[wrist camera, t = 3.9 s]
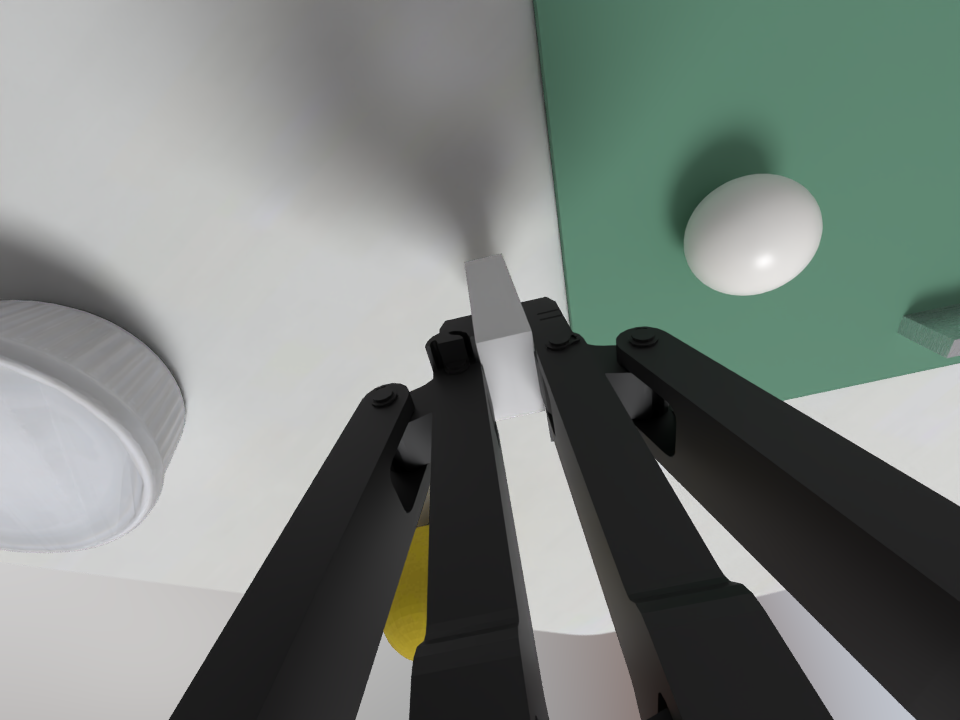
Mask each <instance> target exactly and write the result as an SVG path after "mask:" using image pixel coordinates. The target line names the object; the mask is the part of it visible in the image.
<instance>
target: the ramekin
mask: <svg viewBox="0 0 960 720" xmlns="http://www.w3.org/2000/svg"><path fill="white" fill-rule="evenodd" d="M184 425H185V407H184V400H183V398H182V395H181V391H180V388H179V387H178V385H177V383H176V381H175V379H174V377H173V375H172V374H171V372H170V371H169V369H168V368H167V366H166V365H165V364H164V363H163V361H162V360H161V359H160V358H159V357H158V356H157V355H156V354H155V353H154V352H153V351H152V350H151V349H150V348H149V347H148V346H146V345H145V344H144V343H143V342H142V341H140V340H139V339H138V338H136V337H135V336H134V335H132V334H131V333H129V332H128V331H126V330H125V329H123V328H121V327H119V326H118V325H116V324H114V323H112V322H110V321H108V320H106V319H103V318H101V317H99V316H96V315H94V314H91V313H88V312H85V311H82V310H78V309H75V308H71V307H67V306H62V305H58V304H54V303H45V302H39V301H31V300H28V301H23V300H0V550H6V551H14V552H30V553H55V552H69V551H79V550H86V549H90V548H94V547H97V546H101V545H104V544H106V543H109V542H112V541H114V540H116V539H118V538H120V537H122V536H124V535H126V534H128V533H129V532H130V531H132V530H133V529H135V528H136V527H137V526H138V525H139V524H140V523H141V522H142V521H143V520H144V519H145V518H146V517H147V515H148V514H149V513H150V511H151V510H152V509H153V507H154V506H155V504H156V502H157V500H158V499H159V496H160V494H161V491H162V487H163V483H164V474H165V472H166V470H167V468H168V466H169V463H170V461H171V459H172V456H173V454H174V452H175V450H176V447H177V445H178V443H179V440H180V438H181V436H182V433H183V428H184Z"/></svg>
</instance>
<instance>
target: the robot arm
mask: <svg viewBox="0 0 960 720" xmlns="http://www.w3.org/2000/svg"><path fill="white" fill-rule="evenodd" d="M465 270H466V277H467V284H468V292H469V299H470V306H471V314H472V315H469V316H465V317H460V318H456V319H452V320H447V321H445V322H444V324H443V325H442V326H441V328H440V333H438V334H437V335H435V336H433V337H432V338H431V339H430V340H429V341H427V343H426V346H425V348H426V351H427V354H428V357H429V360H430V363H431V366H432V369H433V379H432V380H431V381H430V382H428V383H427V384H426V385H424V386H422V387H420V388H418V389H415V390H413V391H411V392H409V390H408V388H407V387H406V386H405V385H402V384H398V383H391V384H386V385H382V386H380V387H377V388H375V389H374V390H372V391H371V392H369V393H368V394H367V395H366V396H365V397H364V398H363V399H362V401H361V402H360V404H359V406H358V407H357V409H356V411H355V412H354V414H353V416H352V417H351V419H350V421H349V422H348V424H347V425H346V427H345V429H344V430H343V432H342V434H341V435H340V437H339V439H338V440H337V442H336V444H335V445H334V447H333V449H332V450H331V452H330V454H329V455H328V457H327V459H326V460H325V462H324V464H323V465H322V467H321V469H320V470H319V472H318V474H317V475H316V477H315V478H314V480H313V482H312V483H311V485H310V487H309V488H308V490H307V492H306V493H305V495H304V497H303V498H302V500H301V502H300V503H299V505H298V507H297V508H296V510H295V512H294V513H293V515H292V517H291V518H290V520H289V522H288V523H287V525H286V526H285V528H284V530H283V531H282V533H281V535H280V536H279V538H278V540H277V541H276V543H275V545H274V546H273V548H272V550H271V551H270V553H269V555H268V556H267V558H266V560H265V561H264V563H263V565H262V566H261V568H260V570H259V571H258V573H257V575H256V576H255V578H254V579H253V581H252V583H251V584H250V586H249V588H248V589H247V591H246V593H245V594H244V596H243V598H242V599H241V601H240V603H239V604H238V606H237V608H236V609H235V611H234V613H233V614H232V616H231V618H230V619H229V621H228V623H227V624H226V626H225V627H224V629H223V631H222V632H221V634H220V636H219V637H218V639H217V641H216V642H215V644H214V646H213V647H212V649H211V651H210V652H209V654H208V656H207V657H206V659H205V661H204V662H203V664H202V666H201V667H200V669H199V671H198V672H197V674H196V676H195V677H194V679H193V680H192V682H191V684H190V686H189V687H188V689H187V690H186V692H185V694H184V695H183V697H182V699H181V700H180V702H179V704H178V705H177V707H176V709H175V710H174V712H173V714H172V715H171V717H170V719H169V720H355V719H356V716H357V713H358V710H359V706H360V703H361V700H362V697H363V694H364V691H365V687H366V684H367V681H368V678H369V675H370V672H371V669H372V665H373V662H374V659H375V656H376V653H377V650H378V646H379V643H380V640H381V637H382V634H383V631H384V628H385V624H386V621H387V618H388V615H389V612H390V609H391V605H392V602H393V599H394V596H395V593H396V590H397V586H398V583H399V580H400V577H401V574H402V571H403V567H404V564H405V561H406V558H407V555H408V552H409V549H410V545H411V542H412V539H413V536H414V533H415V530H416V526H417V523H418V520H419V517H420V514H421V511H422V507H423V504H424V501H425V498H426V495H427V492H428V489H429V485H430V513H429V548H428V584H427V619H426V635H425V638H424V641H423V642H422V643H421V644H420V645H418V646H417V648H416V651H415V655H414V658H413V666H412V676H411V693H410V713H409V720H549V717H548V712H547V707H546V702H545V697H544V692H543V686H542V681H541V675H540V669H539V663H538V658H537V652H536V647H535V640H534V635H533V629H532V623H531V617H530V611H529V606H528V600H527V594H526V588H525V583H524V577H523V571H522V565H521V560H520V554H519V548H518V542H517V536H516V531H515V525H514V519H513V513H512V508H511V502H510V496H509V490H508V485H507V479H506V473H505V467H504V462H503V456H502V450H501V444H500V438H499V433H498V429H497V425H496V421H500V420H505V419H509V418H514V417H518V416H523V415H528V414H532V413H537V412H542V411H545V408H546V413H547V419H548V425H549V431H550V437H551V442H552V441H554V442H555V445H556V448H557V451H558V455H559V458H560V461H561V464H562V467H563V470H564V473H565V476H566V479H567V482H568V485H569V488H570V492H571V495H572V498H573V501H574V504H575V507H576V510H577V513H578V516H579V519H580V522H581V525H582V529H583V532H584V535H585V538H586V541H587V544H588V547H589V550H590V553H591V556H592V559H593V563H594V566H595V569H596V572H597V575H598V578H599V581H600V584H601V587H602V590H603V593H604V596H605V600H606V603H607V606H608V609H609V612H610V615H611V618H612V621H613V624H614V627H615V630H616V633H617V637H618V640H619V642H620V646H621V648H622V652H623V655H624V658H625V661H626V664H627V667H628V670H629V674H630V677H631V680H632V684H633V687H634V692H635V696H636V700H637V705H638V709H639V713H640V717H641V720H834V719H833V718H832V716H831V715H830V713H829V712H828V710H827V708H826V707H825V705H824V704H823V702H822V701H821V699H820V697H819V696H818V694H817V692H816V691H815V689H814V688H813V686H812V684H811V683H810V681H809V680H808V678H807V677H806V675H805V673H804V672H803V670H802V669H801V667H800V665H799V664H798V662H797V661H796V659H795V658H794V656H793V654H792V653H791V651H790V650H789V648H788V647H787V645H786V643H785V642H784V640H783V638H782V637H781V635H780V634H779V632H778V630H777V629H776V627H775V626H774V624H773V623H772V621H771V620H770V618H769V616H768V615H767V613H766V611H765V610H764V609H763V607H762V606H761V604H760V603H759V602H758V601H757V599H756V597H755V596H754V595H753V593H752V592H751V591H749V590H748V589H747V588H746V587H745V586H744V585H743V584H741V583H736V582H731V581H730V580H729V579H727V578H726V577H725V575H724V574H723V573H722V571H721V570H720V568H719V567H718V565H717V563H716V562H715V560H714V558H713V556H712V555H711V553H710V551H709V550H708V548H707V546H706V545H705V543H704V541H703V539H702V538H701V536H700V534H699V533H698V531H697V529H696V528H695V526H694V524H693V522H692V521H691V519H690V517H689V516H688V514H687V512H686V511H685V509H684V507H683V506H682V504H681V502H680V500H679V499H678V497H677V495H676V494H675V492H674V490H673V489H672V487H671V485H670V483H669V482H668V480H667V478H666V477H665V475H664V473H663V472H662V470H661V468H660V467H659V465H658V463H657V461H658V462H659V463H660V464H661V465H662V466H663V467H664V468H665V469H666V470H667V471H668V472H669V473H670V474H671V475H672V476H673V477H674V478H675V479H676V480H677V481H678V482H679V483H680V484H681V485H682V486H683V487H684V488H685V489H686V490H687V491H688V492H689V493H690V494H691V495H692V496H693V497H694V498H695V499H696V500H697V501H698V502H699V503H700V504H701V505H702V506H703V507H704V508H705V509H706V510H707V511H708V512H709V513H710V514H711V515H712V516H713V517H714V518H715V519H716V520H717V521H718V522H719V523H720V524H721V525H722V526H723V527H724V528H725V529H726V530H727V531H728V532H729V533H730V534H731V535H732V536H733V537H734V538H735V539H736V540H737V541H738V542H739V543H740V544H741V545H742V546H743V547H744V548H745V549H746V550H747V551H748V552H749V553H750V554H751V555H752V556H753V557H754V558H755V559H756V560H757V561H758V562H759V563H760V564H761V565H762V566H763V567H764V568H765V569H766V570H767V571H768V572H769V573H770V574H771V575H772V576H773V577H774V578H775V579H776V580H777V581H778V582H779V583H780V584H781V585H782V586H783V587H784V588H785V589H786V590H787V591H788V592H789V593H790V594H791V595H792V596H793V597H794V598H795V599H796V600H797V601H798V602H799V603H800V604H801V605H802V606H803V607H804V608H805V609H806V610H807V611H808V612H809V613H810V614H811V615H812V616H813V617H814V618H815V619H816V620H817V621H818V622H819V623H820V624H821V625H822V626H823V627H824V628H825V629H826V630H827V631H828V632H829V633H830V634H831V635H832V636H833V637H834V638H835V639H836V640H837V641H838V642H839V643H840V644H841V645H842V646H843V647H844V648H845V649H846V650H847V651H848V652H849V653H850V654H851V655H852V656H853V657H854V658H855V659H856V660H857V661H858V662H859V663H860V664H861V665H862V666H863V667H864V668H865V669H866V670H867V671H868V672H869V673H870V674H871V675H872V676H873V677H874V678H875V679H876V680H877V681H878V682H879V683H880V684H881V685H882V686H883V687H884V688H885V689H886V690H887V691H888V692H889V693H890V694H891V695H892V696H893V697H894V698H895V699H896V700H897V701H898V702H899V703H900V704H901V705H902V706H903V707H904V708H905V709H906V710H907V711H908V712H909V713H910V714H911V715H912V716H913V717H914V718H915V719H916V720H960V506H958V505H957V504H955V503H953V502H952V501H950V500H948V499H946V498H945V497H943V496H941V495H940V494H938V493H936V492H935V491H933V490H931V489H930V488H928V487H926V486H925V485H923V484H921V483H920V482H918V481H916V480H915V479H913V478H911V477H909V476H908V475H906V474H904V473H903V472H901V471H899V470H898V469H896V468H894V467H893V466H891V465H889V464H888V463H886V462H884V461H883V460H881V459H879V458H878V457H876V456H874V455H873V454H871V453H869V452H867V451H866V450H864V449H862V448H861V447H859V446H857V445H856V444H854V443H852V442H851V441H849V440H847V439H846V438H844V437H842V436H841V435H839V434H837V433H836V432H834V431H832V430H830V429H829V428H827V427H825V426H824V425H822V424H820V423H819V422H817V421H815V420H814V419H812V418H810V417H809V416H807V415H805V414H804V413H802V412H800V411H799V410H797V409H795V408H793V407H792V406H790V405H788V404H787V403H785V402H783V401H782V400H780V399H778V398H777V397H775V396H773V395H772V394H770V393H768V392H767V391H765V390H763V389H762V388H760V387H758V386H756V385H755V384H753V383H751V382H750V381H748V380H746V379H745V378H743V377H741V376H740V375H738V374H736V373H735V372H733V371H731V370H730V369H728V368H726V367H725V366H723V365H721V364H720V363H718V362H716V361H714V360H713V359H711V358H709V357H708V356H706V355H704V354H703V353H701V352H699V351H698V350H696V349H694V348H693V347H691V346H689V345H688V344H686V343H684V342H683V341H681V340H679V339H677V338H676V337H674V336H672V335H671V334H669V333H667V332H666V331H663V330H661V329H658V328H653V327H647V326H642V327H635V328H631V329H627V330H625V331H624V332H622V333H620V334H619V335H618V336H617V338H616V345H606V346H600V345H590V344H587V343H586V341H585V339H584V338H583V337H582V336H581V335H580V334H577V333H574V332H572V330H571V328H570V326H569V325H568V323H567V321H566V319H565V318H564V316H563V314H562V312H561V310H560V309H559V307H558V305H557V303H556V302H555V301H553V300H551V299H549V298H547V297H543V298H538V299H534V300H530V301H525V302H520V299H519V297H518V294H517V292H516V289H515V287H514V284H513V281H512V279H511V276H510V274H509V271H508V269H507V266H506V263H505V261H504V258H503V256H502V253H501V254H497V255H493V256H489V257H484V258H480V259H476V260H472V261H467V262H465ZM544 405H545V407H544ZM655 459H656V460H657V461H656V460H655Z"/></svg>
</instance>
